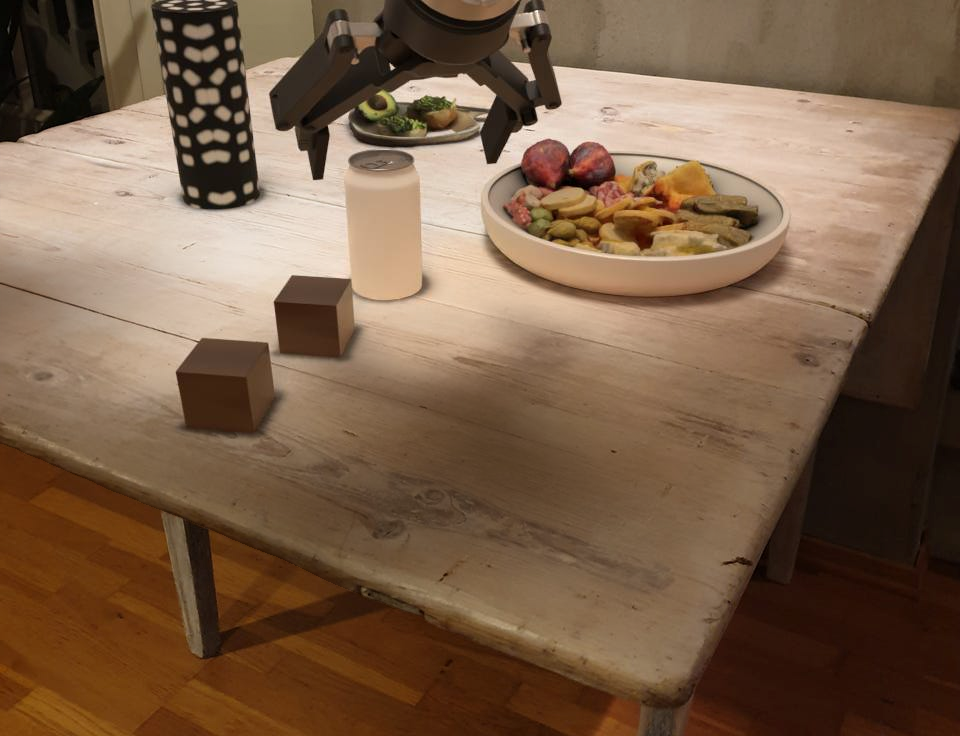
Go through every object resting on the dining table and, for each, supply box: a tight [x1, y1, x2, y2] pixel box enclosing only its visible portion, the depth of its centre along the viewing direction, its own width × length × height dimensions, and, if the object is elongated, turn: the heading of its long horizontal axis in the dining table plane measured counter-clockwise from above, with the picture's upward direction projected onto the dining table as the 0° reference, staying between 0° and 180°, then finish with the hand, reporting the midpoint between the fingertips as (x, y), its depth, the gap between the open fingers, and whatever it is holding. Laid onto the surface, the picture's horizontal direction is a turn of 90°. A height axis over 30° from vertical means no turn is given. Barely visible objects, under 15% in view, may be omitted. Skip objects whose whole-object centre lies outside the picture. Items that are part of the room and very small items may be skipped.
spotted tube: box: [150, 0, 261, 211], centre depth 102 cm, size 8×8×20 cm
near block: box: [175, 337, 276, 434], centre depth 69 cm, size 5×5×5 cm
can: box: [344, 148, 423, 301], centre depth 85 cm, size 6×6×12 cm
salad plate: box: [348, 90, 490, 147], centre depth 129 cm, size 19×18×5 cm
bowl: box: [480, 138, 792, 298], centre depth 96 cm, size 30×30×8 cm
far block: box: [273, 274, 356, 359], centre depth 78 cm, size 5×5×5 cm
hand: (403, 155), depth 74 cm, fingers open, 13 cm apart
